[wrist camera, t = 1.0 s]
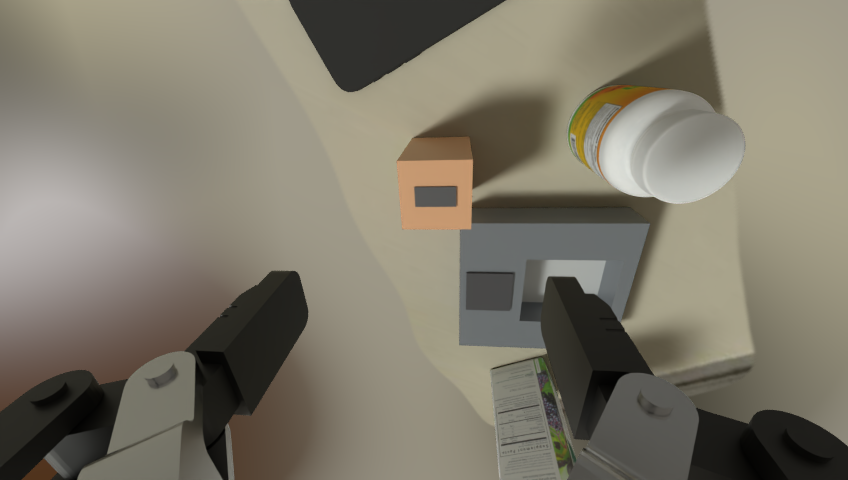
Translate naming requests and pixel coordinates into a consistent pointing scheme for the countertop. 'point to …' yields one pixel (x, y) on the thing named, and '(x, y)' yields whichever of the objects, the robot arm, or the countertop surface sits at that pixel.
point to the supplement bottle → (656, 142)
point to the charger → (436, 183)
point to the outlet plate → (541, 266)
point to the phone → (380, 32)
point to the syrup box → (530, 424)
